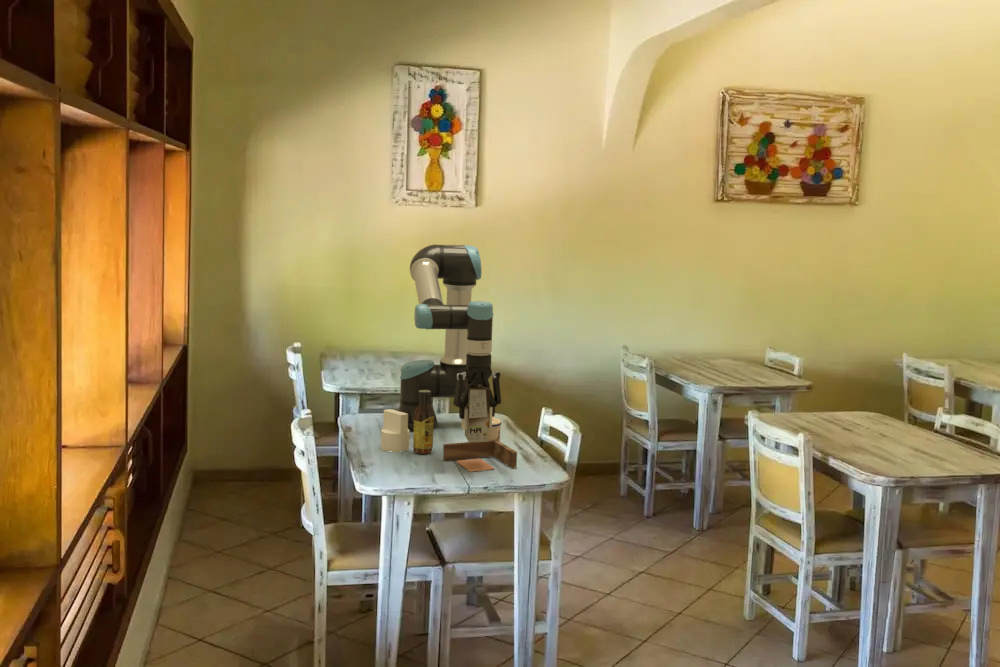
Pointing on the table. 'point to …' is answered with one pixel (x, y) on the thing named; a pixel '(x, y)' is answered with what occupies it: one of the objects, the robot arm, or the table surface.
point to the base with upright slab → (395, 431)
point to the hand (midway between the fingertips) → (476, 428)
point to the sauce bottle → (423, 424)
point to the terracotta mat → (475, 465)
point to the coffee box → (478, 414)
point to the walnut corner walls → (480, 451)
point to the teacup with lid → (495, 430)
